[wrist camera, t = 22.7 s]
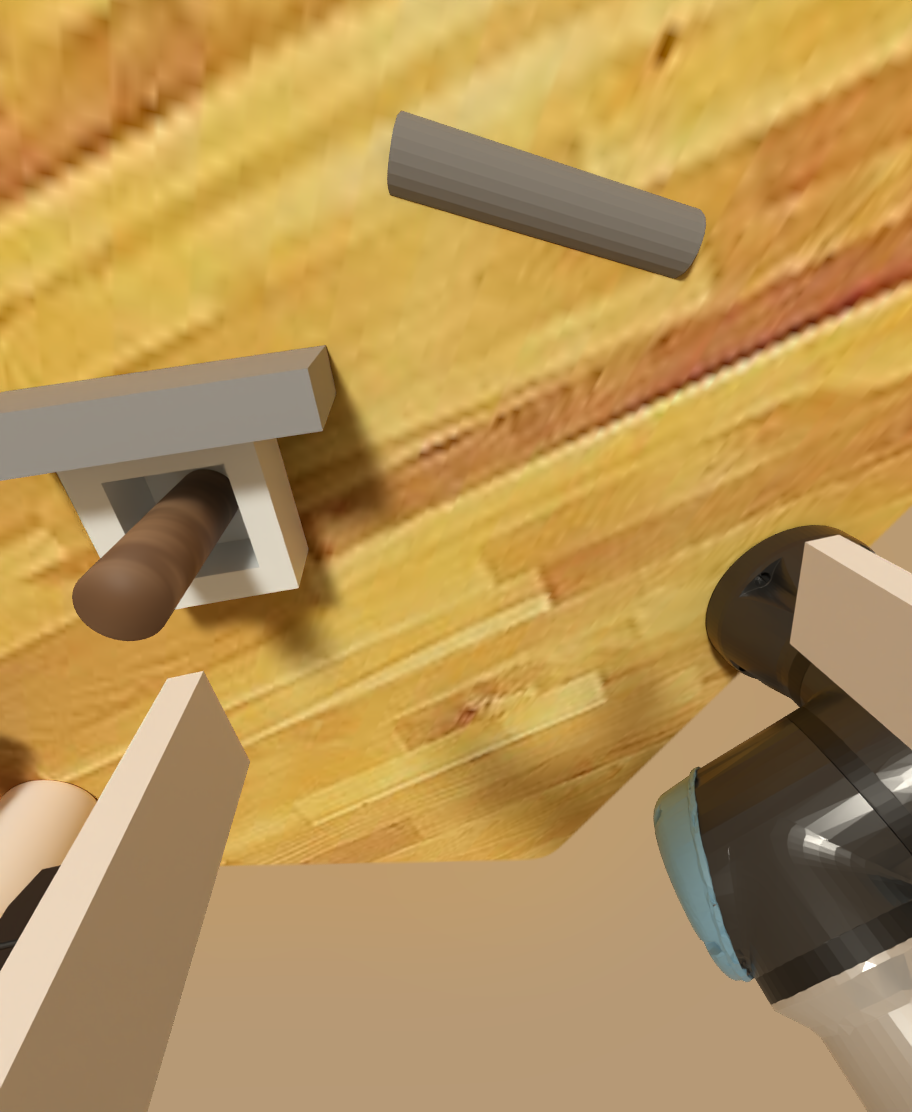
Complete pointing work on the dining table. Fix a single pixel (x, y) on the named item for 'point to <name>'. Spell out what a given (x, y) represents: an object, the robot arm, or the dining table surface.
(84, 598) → the dowel
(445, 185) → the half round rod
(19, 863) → the candle holder
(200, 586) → the white square open box
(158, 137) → the dining table surface
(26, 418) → the wall
